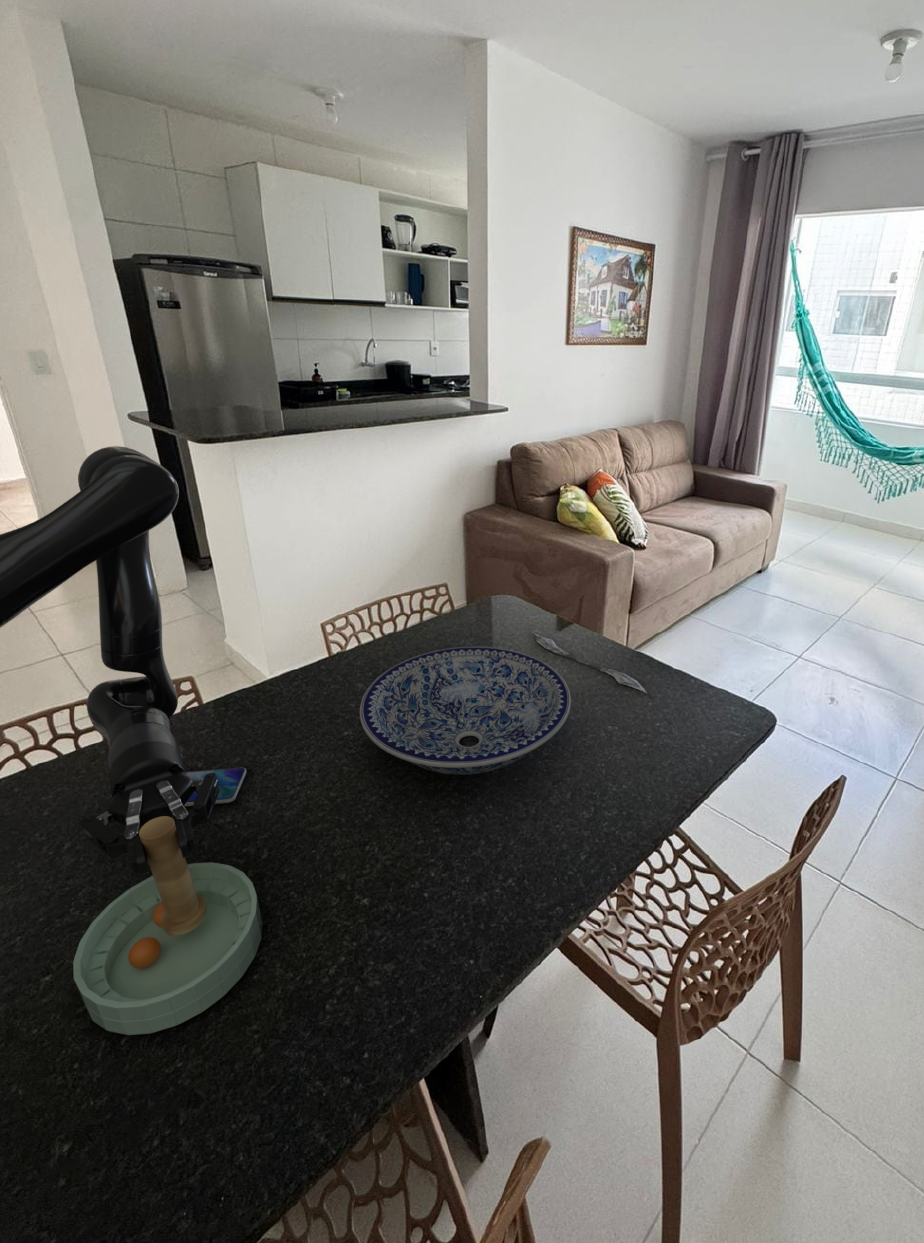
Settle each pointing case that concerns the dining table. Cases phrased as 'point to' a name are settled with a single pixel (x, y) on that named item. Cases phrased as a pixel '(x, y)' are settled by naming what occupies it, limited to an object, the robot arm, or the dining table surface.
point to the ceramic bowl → (465, 708)
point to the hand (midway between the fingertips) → (164, 858)
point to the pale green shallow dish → (168, 954)
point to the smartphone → (221, 783)
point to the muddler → (172, 877)
